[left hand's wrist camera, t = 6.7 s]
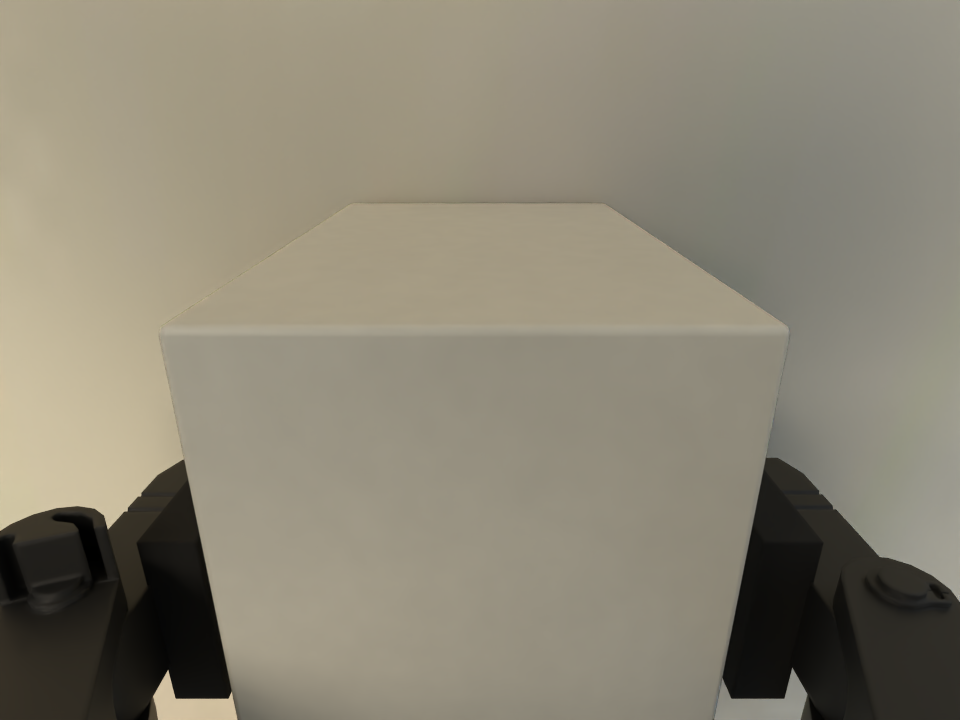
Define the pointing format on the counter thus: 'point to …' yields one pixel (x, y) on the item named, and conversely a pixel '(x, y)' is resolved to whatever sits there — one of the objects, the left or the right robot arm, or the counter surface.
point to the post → (475, 466)
